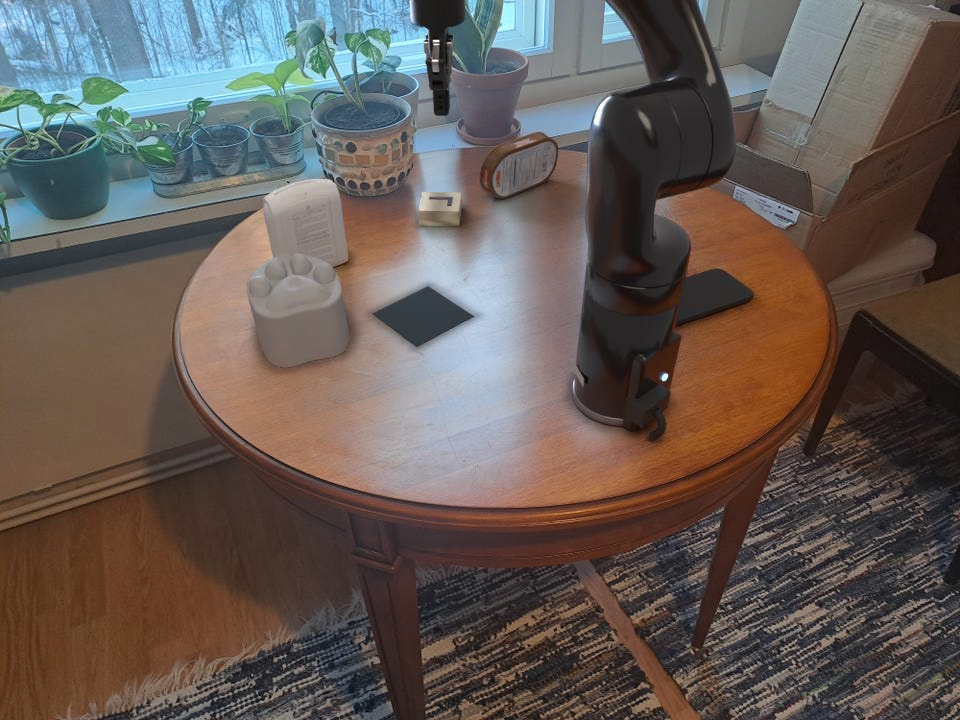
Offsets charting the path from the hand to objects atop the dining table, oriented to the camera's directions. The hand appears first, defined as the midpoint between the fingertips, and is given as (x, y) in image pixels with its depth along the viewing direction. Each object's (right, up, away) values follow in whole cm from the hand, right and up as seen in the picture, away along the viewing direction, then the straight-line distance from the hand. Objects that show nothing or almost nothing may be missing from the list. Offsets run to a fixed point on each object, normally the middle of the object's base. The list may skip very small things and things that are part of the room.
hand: (442, 112), depth 106 cm
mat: (-2, -32, -17) cm, 36 cm away
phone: (+33, -30, -15) cm, 47 cm away
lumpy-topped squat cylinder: (-16, -34, -19) cm, 42 cm away
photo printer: (-17, -24, -8) cm, 31 cm away
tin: (+12, -10, +9) cm, 18 cm away
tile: (0, -15, +2) cm, 15 cm away
